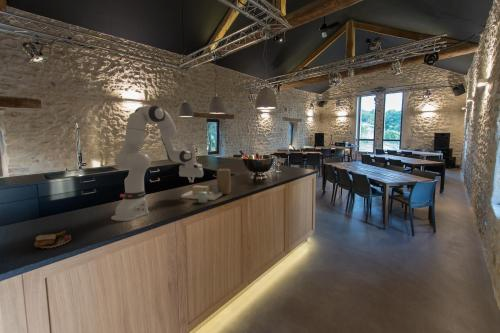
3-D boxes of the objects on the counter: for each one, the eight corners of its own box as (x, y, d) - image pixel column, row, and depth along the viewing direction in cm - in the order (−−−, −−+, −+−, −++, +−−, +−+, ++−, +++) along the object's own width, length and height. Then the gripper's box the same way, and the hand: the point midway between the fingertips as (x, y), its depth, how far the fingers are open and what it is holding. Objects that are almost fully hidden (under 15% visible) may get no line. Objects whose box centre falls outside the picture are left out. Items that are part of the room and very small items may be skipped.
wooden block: (231, 191, 213) (230, 168, 210) (228, 194, 203) (228, 170, 201) (219, 191, 214) (219, 168, 211) (217, 194, 204) (216, 170, 202)
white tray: (214, 200, 187) (214, 197, 186) (181, 197, 194) (181, 195, 194) (222, 195, 202) (222, 192, 202) (191, 192, 209) (191, 190, 209)
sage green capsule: (204, 203, 180) (204, 193, 179) (196, 202, 181) (195, 193, 180) (209, 200, 186) (208, 191, 185) (200, 199, 188) (200, 190, 187)
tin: (218, 193, 198) (218, 187, 197) (213, 193, 198) (213, 187, 197) (218, 192, 202) (218, 186, 201) (214, 192, 202) (213, 186, 201)
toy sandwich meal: (69, 245, 114) (68, 236, 113) (31, 252, 108) (29, 242, 107) (73, 235, 125) (72, 226, 124) (39, 241, 119) (37, 232, 118)
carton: (192, 194, 197) (206, 195, 194) (192, 186, 196) (205, 187, 193) (195, 192, 203) (209, 193, 199) (195, 185, 202) (209, 185, 199)
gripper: (177, 165, 197) (177, 182, 199) (200, 166, 191) (201, 183, 193) (181, 164, 203) (182, 180, 205) (204, 165, 197) (204, 182, 199)
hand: (191, 182), depth 199 cm, fingers closed
